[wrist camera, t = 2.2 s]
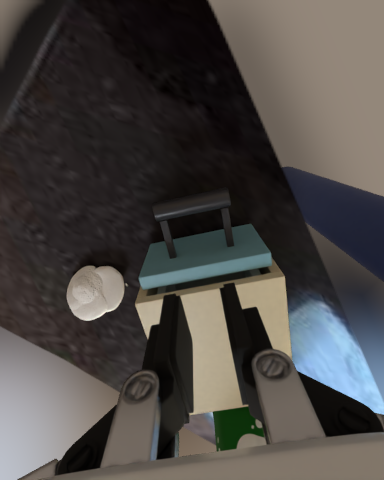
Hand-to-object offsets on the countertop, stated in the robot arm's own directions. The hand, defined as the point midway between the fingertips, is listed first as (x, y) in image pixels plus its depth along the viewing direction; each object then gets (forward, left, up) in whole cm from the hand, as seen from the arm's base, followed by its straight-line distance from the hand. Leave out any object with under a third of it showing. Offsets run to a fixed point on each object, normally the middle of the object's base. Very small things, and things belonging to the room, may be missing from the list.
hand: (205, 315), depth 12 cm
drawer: (0, +5, -14) cm, 15 cm away
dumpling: (+12, +5, -15) cm, 20 cm away
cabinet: (0, +10, -15) cm, 18 cm away
